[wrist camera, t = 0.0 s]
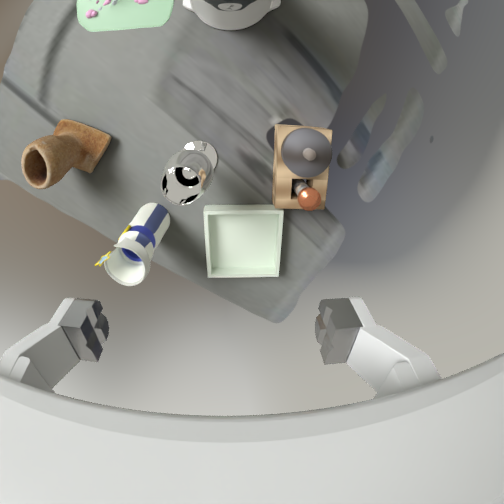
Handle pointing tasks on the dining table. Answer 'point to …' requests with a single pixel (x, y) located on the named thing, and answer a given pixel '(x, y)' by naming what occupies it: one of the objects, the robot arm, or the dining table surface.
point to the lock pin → (306, 195)
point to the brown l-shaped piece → (63, 153)
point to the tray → (243, 240)
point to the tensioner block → (300, 162)
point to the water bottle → (137, 245)
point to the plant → (122, 14)
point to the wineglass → (189, 173)
